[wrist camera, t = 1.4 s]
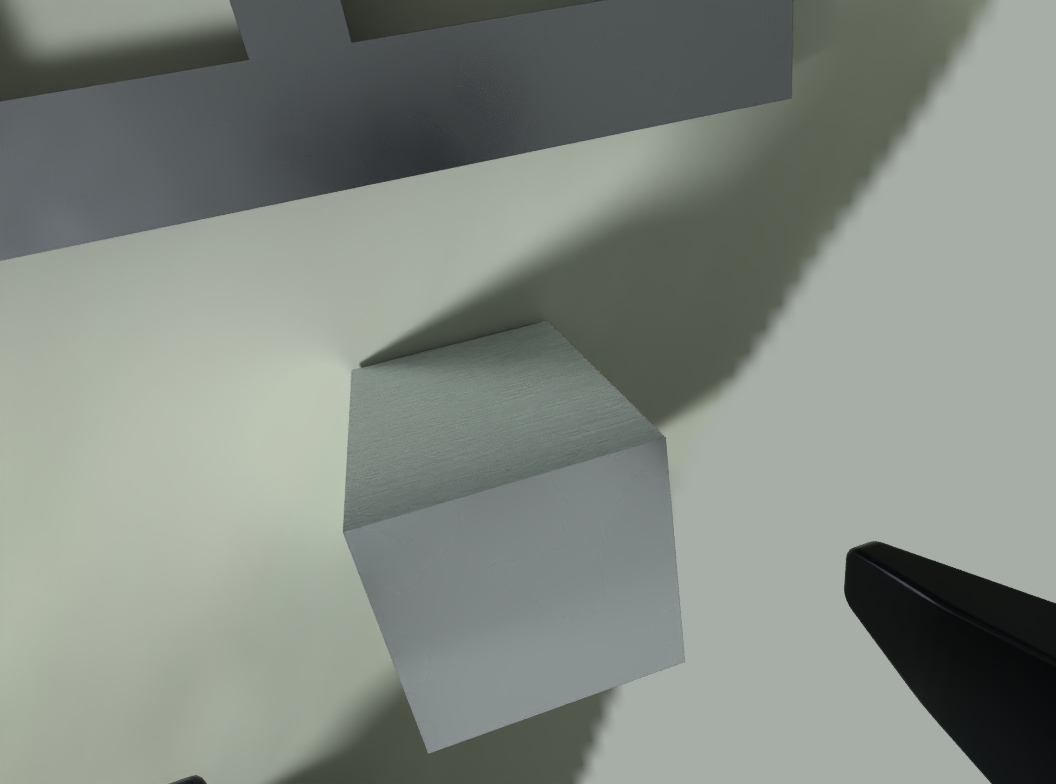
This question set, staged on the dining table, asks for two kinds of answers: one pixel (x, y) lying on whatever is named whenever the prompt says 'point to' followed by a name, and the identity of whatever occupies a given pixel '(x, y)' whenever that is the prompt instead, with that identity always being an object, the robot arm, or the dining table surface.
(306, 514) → the dining table surface
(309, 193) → the grey slotted frame
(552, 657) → the steel block
